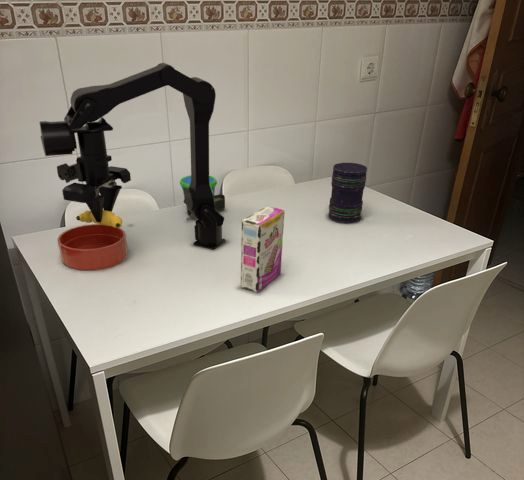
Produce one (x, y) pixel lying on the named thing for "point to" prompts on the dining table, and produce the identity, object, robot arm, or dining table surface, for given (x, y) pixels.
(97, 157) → the robot arm
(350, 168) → the storage jar
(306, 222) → the dining table surface
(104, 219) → the banana
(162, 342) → the dining table surface
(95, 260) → the bowl
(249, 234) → the candy bar box
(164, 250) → the dining table surface
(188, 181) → the snack cup
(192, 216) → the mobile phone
